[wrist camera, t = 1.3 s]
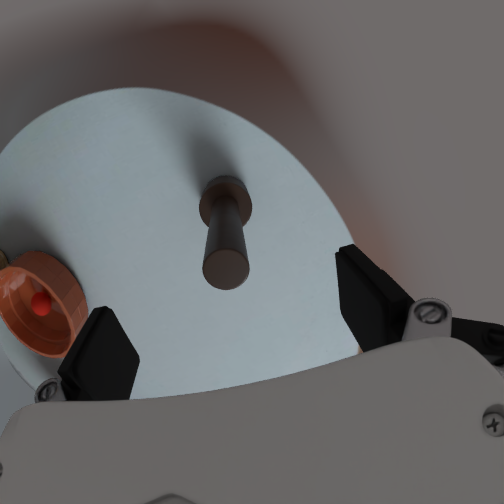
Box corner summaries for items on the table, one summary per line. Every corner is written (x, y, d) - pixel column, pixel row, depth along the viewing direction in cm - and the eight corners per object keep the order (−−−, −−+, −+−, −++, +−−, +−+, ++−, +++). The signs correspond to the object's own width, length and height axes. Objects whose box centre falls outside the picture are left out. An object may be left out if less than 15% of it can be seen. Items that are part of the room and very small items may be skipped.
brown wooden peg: (197, 182, 26) (165, 239, 12) (242, 170, 26) (261, 213, 12) (209, 224, 28) (196, 317, 14) (253, 213, 28) (280, 297, 14)
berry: (34, 289, 28) (23, 302, 25) (48, 285, 28) (36, 298, 25) (44, 308, 29) (34, 321, 27) (58, 305, 29) (48, 318, 26)
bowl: (1, 262, 27) (-20, 279, 22) (60, 236, 26) (37, 254, 22) (43, 338, 32) (29, 360, 27) (106, 328, 32) (94, 354, 27)
